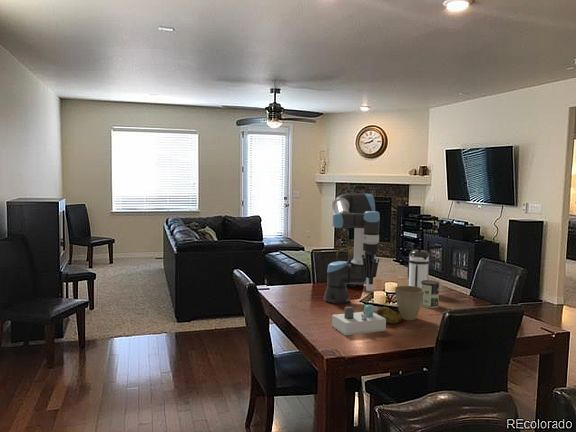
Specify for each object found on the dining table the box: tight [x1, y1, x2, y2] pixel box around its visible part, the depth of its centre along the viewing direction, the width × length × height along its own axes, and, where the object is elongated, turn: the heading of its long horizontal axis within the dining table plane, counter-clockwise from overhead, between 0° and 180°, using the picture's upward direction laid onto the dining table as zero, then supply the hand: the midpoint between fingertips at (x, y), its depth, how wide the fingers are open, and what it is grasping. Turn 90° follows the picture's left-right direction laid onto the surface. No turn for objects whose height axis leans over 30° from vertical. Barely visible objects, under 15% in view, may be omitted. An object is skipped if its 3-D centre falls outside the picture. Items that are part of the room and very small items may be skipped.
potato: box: [376, 306, 403, 325], centre depth 247 cm, size 8×13×8 cm, turn 75°
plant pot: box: [394, 285, 424, 321], centre depth 254 cm, size 15×15×16 cm
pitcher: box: [335, 241, 358, 287], centre depth 331 cm, size 11×19×30 cm, turn 63°
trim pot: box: [361, 311, 367, 321], centre depth 231 cm, size 3×3×4 cm
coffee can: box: [421, 279, 440, 309], centre depth 281 cm, size 10×10×14 cm
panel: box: [331, 311, 387, 336], centre depth 236 cm, size 14×22×6 cm, turn 111°
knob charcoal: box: [343, 306, 355, 319], centre depth 234 cm, size 4×4×10 cm
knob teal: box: [363, 304, 374, 317], centre depth 238 cm, size 4×4×10 cm
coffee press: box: [407, 246, 431, 288], centre depth 315 cm, size 17×16×30 cm
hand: (369, 290), depth 237 cm, fingers closed
